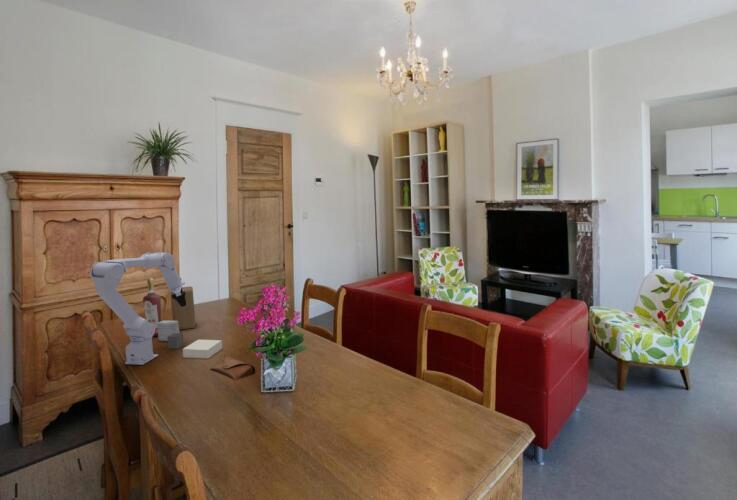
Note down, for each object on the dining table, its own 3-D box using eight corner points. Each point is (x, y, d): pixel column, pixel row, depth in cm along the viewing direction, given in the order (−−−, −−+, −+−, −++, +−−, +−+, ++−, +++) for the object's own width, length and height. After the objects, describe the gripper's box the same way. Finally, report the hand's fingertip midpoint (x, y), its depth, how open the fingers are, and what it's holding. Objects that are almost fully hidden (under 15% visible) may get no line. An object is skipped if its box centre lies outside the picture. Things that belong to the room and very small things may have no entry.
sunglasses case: (206, 369, 148) (213, 351, 150) (221, 372, 153) (227, 355, 156) (236, 381, 138) (243, 362, 140) (251, 384, 143) (257, 365, 145)
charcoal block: (177, 349, 169) (176, 337, 169) (168, 348, 170) (167, 336, 169) (184, 345, 174) (183, 333, 173) (174, 344, 174) (173, 333, 174)
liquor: (167, 332, 191) (162, 276, 187) (157, 338, 184) (152, 279, 180) (153, 332, 192) (147, 276, 188) (143, 337, 184) (137, 279, 181)
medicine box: (180, 338, 183) (178, 320, 182) (174, 341, 178) (172, 323, 177) (164, 337, 184) (162, 320, 183) (158, 341, 179) (156, 323, 178)
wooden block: (174, 325, 202) (171, 287, 199) (195, 322, 206) (192, 285, 203) (173, 331, 193) (170, 292, 190) (195, 328, 197) (192, 289, 194)
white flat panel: (208, 359, 158) (207, 350, 158) (183, 358, 160) (182, 349, 160) (222, 349, 169) (221, 340, 169) (198, 348, 171) (198, 339, 170)
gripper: (183, 280, 167) (194, 305, 174) (178, 267, 179) (189, 292, 185) (166, 286, 164) (177, 312, 171) (162, 273, 176) (173, 297, 182)
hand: (182, 302), depth 178 cm, fingers open, 7 cm apart
